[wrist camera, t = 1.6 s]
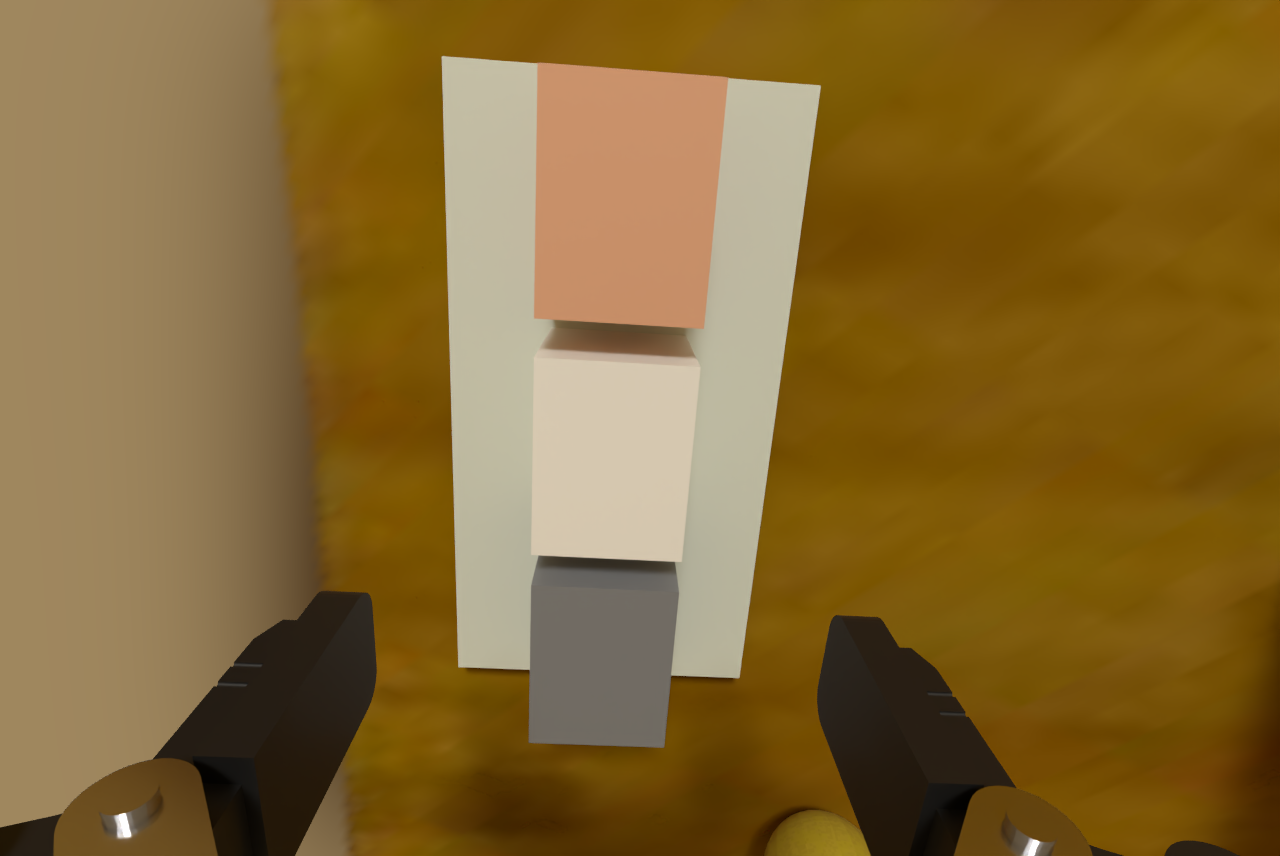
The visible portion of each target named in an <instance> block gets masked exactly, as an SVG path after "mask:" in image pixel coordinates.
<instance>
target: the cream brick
mask: <svg viewBox="0 0 1280 856" xmlns="http://www.w3.org/2000/svg"><path fill="white" fill-rule="evenodd" d="M700 369H701V367H700V365H699V363H698V360H697V358H696V356H695V354H694V352H693V350H692V347H691V345H690V343H689V341H688V339H687V337H686V336H683V335H667V334H651V333H634V332H618V331H601V330H585V329H569V328H552V327H551V329H550V331H549V333H548V334H547V336H546V338H545V339H544V341H543V343H542V344H541V346H540V348H539V350H538V351H537V353H536V355H535V356H534V384H533V455H532V525H531V555H541V556H562V557H584V558H605V559H627V560H648V561H670V562H682V554H683V544H684V533H685V523H686V513H687V503H688V492H689V482H690V472H691V461H692V451H693V441H694V431H695V420H696V410H697V400H698V389H699V379H700Z"/></svg>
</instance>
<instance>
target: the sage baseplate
mask: <svg viewBox="0 0 1280 856" xmlns="http://www.w3.org/2000/svg"><path fill="white" fill-rule="evenodd" d="M537 67H538V64H535V63H522V62H509V61H496V60H484V59H471V58H458V57H445V56H442V82H443V119H444V155H445V192H446V228H447V265H448V302H449V338H450V375H451V411H452V448H453V485H454V521H455V558H456V594H457V631H458V667H471V668H496V669H522V670H530V622H531V584H532V580H533V575H534V571H535V567H536V563H537V559H538V555H531V525H532V455H533V384H534V356H535V355H536V353H537V351H538V350H539V348H540V346H541V344H542V343H543V341H544V339H545V338H546V336H547V334H548V333H549V331H550V329H551V327H552V328H569V329H585V330H601V331H618V332H634V333H651V334H667V335H683V336H686V337H687V339H688V341H689V343H690V345H691V347H692V350H693V352H694V354H695V356H696V358H697V360H698V363H699V365H700V367H701V369H700V379H699V389H698V400H697V410H696V420H695V431H694V441H693V451H692V461H691V472H690V482H689V492H688V503H687V513H686V523H685V533H684V544H683V554H682V562H675V566H676V573H677V580H678V587H679V599H678V609H677V620H676V630H675V640H674V650H673V661H672V671H671V675H674V676H699V677H725V678H739V676H740V669H741V662H742V654H743V647H744V640H745V632H746V625H747V618H748V611H749V603H750V596H751V589H752V582H753V574H754V567H755V560H756V553H757V545H758V538H759V531H760V523H761V516H762V509H763V502H764V494H765V487H766V480H767V473H768V465H769V458H770V451H771V444H772V436H773V429H774V422H775V415H776V407H777V400H778V393H779V385H780V378H781V371H782V364H783V356H784V349H785V342H786V335H787V327H788V320H789V313H790V306H791V298H792V291H793V284H794V277H795V269H796V262H797V255H798V247H799V240H800V233H801V226H802V218H803V211H804V204H805V197H806V189H807V182H808V175H809V168H810V160H811V153H812V146H813V138H814V131H815V124H816V117H817V109H818V102H819V95H820V88H821V86H819V85H806V84H793V83H780V82H767V81H755V80H742V79H729V78H728V86H727V96H726V107H725V117H724V127H723V138H722V148H721V158H720V168H719V179H718V189H717V199H716V210H715V220H714V230H713V241H712V251H711V261H710V272H709V282H708V292H707V303H706V313H705V323H704V329H697V328H681V327H664V326H648V325H632V324H616V323H599V322H583V321H567V320H550V319H534V282H535V210H536V139H537Z"/></svg>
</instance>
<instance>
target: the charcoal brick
mask: <svg viewBox="0 0 1280 856" xmlns="http://www.w3.org/2000/svg"><path fill="white" fill-rule="evenodd" d="M678 599H679V587H678V580H677V573H676V566H675V562H670V561H648V560H627V559H605V558H584V557H562V556H541V555H538V559H537V563H536V567H535V571H534V575H533V580H532V584H531V622H530V692H529V743H547V744H576V745H605V746H634V747H662V748H664V743H665V732H666V722H667V712H668V702H669V691H670V681H671V671H672V661H673V650H674V640H675V630H676V620H677V609H678Z"/></svg>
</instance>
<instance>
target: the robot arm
mask: <svg viewBox="0 0 1280 856" xmlns="http://www.w3.org/2000/svg"><path fill="white" fill-rule="evenodd" d="M376 671H377V669H376V653H375V638H374V624H373V610H372V601H371V598H370V595H369V594H368V593H359V592H337V591H321V592H319V593H318V594H317V595H316V596H315V597H314V599H313V600H312V601H311V603H310V604H309V605H308V607H307V608H306V609H305V611H304V612H303V613H302V614H301V616H300V617H299V618H298V619H297V620H282V621H280V622H279V623H277V624H276V625H274V626H273V627H271V628H270V629H268V630H267V631H265V632H264V633H262V634H260V635H259V636H257V637H256V638H254V639H253V640H252V641H251V643H250V644H249V645H248V646H247V647H246V649H245V650H244V651H243V652H242V653H241V655H240V656H239V657H238V658H237V659H236V661H235V662H234V666H233V667H230V668H229V669H228V670H227V671H226V673H225V674H224V675H223V676H222V677H221V679H220V680H219V681H218V685H217V687H213V688H212V689H211V690H210V692H209V693H208V694H207V695H206V696H205V698H204V699H203V700H202V701H201V702H200V704H199V705H198V706H197V707H196V708H195V710H194V711H193V712H192V713H191V714H190V715H189V717H188V718H187V719H186V720H185V722H184V723H183V724H182V725H181V726H180V727H179V729H178V730H177V731H176V732H175V733H174V735H173V736H172V737H171V738H170V740H168V742H167V743H166V744H165V745H164V746H163V748H162V749H161V750H160V751H159V752H158V754H157V755H156V756H155V757H154V758H153V759H152V760H147V761H143V762H139V763H136V764H132V765H129V766H127V767H124V768H122V769H119V770H117V771H115V772H113V773H111V774H109V775H107V776H105V777H103V778H102V779H100V780H99V781H97V782H95V783H94V784H92V785H91V786H90V787H88V788H87V789H86V790H84V791H83V792H82V793H81V794H80V795H79V796H77V797H76V798H75V799H74V800H73V801H72V802H71V803H70V805H69V806H68V807H67V808H66V809H65V811H64V812H63V814H59V815H55V816H51V817H47V818H42V819H37V820H33V821H28V822H24V823H19V824H14V825H10V826H6V827H1V828H0V856H295V854H296V852H297V850H298V848H299V846H300V844H301V842H302V840H303V838H304V836H305V834H306V832H307V830H308V828H309V826H310V824H311V822H312V820H313V818H314V816H315V814H316V812H317V810H318V808H319V806H320V804H321V802H322V800H323V798H324V796H325V794H326V792H327V790H328V788H329V786H330V784H331V782H332V780H333V778H334V776H335V774H336V772H337V770H338V768H339V766H340V764H341V762H342V760H343V758H344V756H345V754H346V752H347V750H348V748H349V746H350V744H351V742H352V740H353V738H354V736H355V734H356V732H357V730H358V728H359V726H360V724H361V722H362V720H363V718H364V716H365V714H366V712H367V710H368V708H369V705H370V703H371V700H372V697H373V693H374V688H375V682H376ZM817 704H818V713H819V719H820V723H821V726H822V729H823V731H824V734H825V737H826V739H827V742H828V744H829V747H830V750H831V752H832V755H833V758H834V760H835V763H836V766H837V768H838V771H839V773H840V776H841V779H842V781H843V784H844V787H845V789H846V792H847V794H848V797H849V800H850V802H851V805H852V808H853V810H854V813H855V815H856V818H857V821H858V823H859V826H860V829H861V831H862V834H863V836H864V839H865V842H866V844H867V847H868V850H869V852H870V855H871V856H1122V855H1119V854H1116V853H1112V852H1109V851H1106V850H1103V849H1099V848H1097V847H1094V846H1091V845H1089V844H1088V842H1087V840H1086V839H1085V837H1084V836H1083V834H1082V833H1081V831H1080V830H1079V829H1078V828H1077V827H1076V825H1075V824H1074V823H1073V822H1072V821H1071V820H1070V819H1069V818H1068V817H1067V816H1065V815H1064V814H1063V813H1062V812H1061V811H1059V810H1058V809H1057V808H1055V807H1054V806H1053V805H1051V804H1049V803H1048V802H1046V801H1045V800H1043V799H1041V798H1039V797H1037V796H1035V795H1033V794H1031V793H1028V792H1026V791H1023V790H1020V789H1017V788H1016V787H1015V785H1014V784H1013V782H1012V781H1011V779H1010V778H1009V776H1008V775H1007V773H1006V772H1005V770H1004V769H1003V767H1002V766H1001V764H1000V763H999V761H998V760H997V758H996V757H995V755H994V754H993V753H992V751H991V750H990V748H989V747H988V745H987V744H986V742H985V741H984V739H983V738H982V736H981V735H980V733H979V732H978V730H977V729H976V727H975V726H974V724H973V723H972V721H971V720H970V718H969V717H966V716H965V711H964V709H963V708H962V706H961V705H960V703H959V702H958V700H957V699H956V697H952V692H951V690H950V689H949V687H948V686H947V684H946V683H945V681H944V680H943V678H942V677H941V675H940V674H939V672H938V671H937V669H936V668H935V667H933V666H932V665H931V664H930V663H928V662H927V661H926V660H925V659H924V658H922V657H921V656H920V655H919V654H917V653H916V652H915V651H914V650H913V649H911V648H899V646H898V645H897V643H896V642H895V640H894V638H893V637H892V635H891V634H890V632H889V630H888V629H887V627H886V626H885V624H884V622H883V621H882V620H881V619H880V618H878V617H862V616H839V615H836V616H834V617H833V619H832V621H831V624H830V627H829V633H828V638H827V643H826V648H825V653H824V658H823V664H822V669H821V674H820V679H819V684H818V693H817ZM1164 856H1239V855H1237V854H1234V853H1232V852H1230V851H1228V850H1226V849H1223V848H1220V847H1218V846H1215V845H1211V844H1208V843H1204V842H1198V841H1180V842H1176V843H1174V844H1172V845H1171V846H1170V847H1169V848H1168V849H1167V851H1166V853H1165V855H1164Z"/></svg>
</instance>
